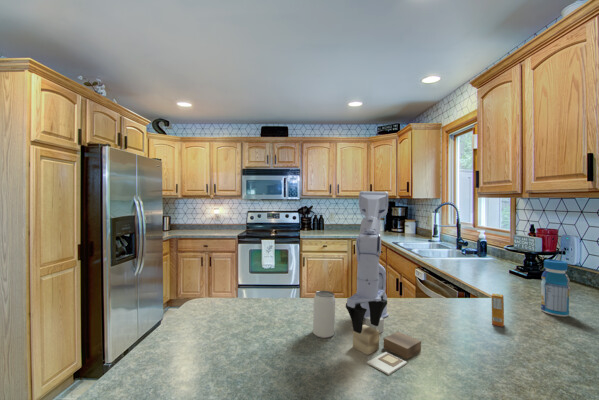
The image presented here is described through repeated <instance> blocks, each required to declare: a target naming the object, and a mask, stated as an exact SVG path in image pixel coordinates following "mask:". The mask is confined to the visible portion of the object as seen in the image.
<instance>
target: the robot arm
mask: <svg viewBox="0 0 599 400" xmlns="http://www.w3.org/2000/svg"><path fill="white" fill-rule="evenodd" d="M358 208H359V212H360V215H363V216H365V217H364V218H362V220H361V221H360V227H359V235H357V237H356V239H355V240H356V241H355V252H356V262H357V272H356V273H357V274H356V293H354V294H352V295H351V296H350V297H347V299H346V303H345V308H346V310H347V312H348V315H349V317H350V319H351V320H350V321H351V324H352V331H353V330H354V331H355V332H357V333H359V334H360V333H361V332H362V326H363V325H364V319H365V318H366V317H369V316H370V322H371V324H372V325H375V326H378V325H379V322H380V318H383V319H384V318H386V317H389V316H390V314H389V313H387V312H388V310H387V308H388V296H387V294H386V289H387V287H386V286H387V271H386V268H385V267H384V266H383V265H382V264H381V263H380V256H381V254H382V236H381V224H382V223H381V220H382V217H384V216H385V217H386V215H387V213H388V209H389V192H388V191H372V190H371V191H368V190H367V191H363V190H361V191H359V194H358Z"/></svg>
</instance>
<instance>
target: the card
mask: <svg viewBox="0 0 599 400" xmlns="http://www.w3.org/2000/svg"><path fill="white" fill-rule="evenodd" d="M366 362H367V363H366V364H368V365H370V366H371V367H373V368H375V369H376V370H379V372H382V373H384V374H386V375H387V376H390V375H392V374H393V373H394V372H396V371H397V370H399V369H401V368H402V367H403V366H406V365H407V361H406V360H403V359H401V357H397V356H395V355H393V354H391V353H389V352H387V351H385V352H383V353H381V354H379V355H377V356H375V357H373V358H372V359H370V360H368V361H366Z"/></svg>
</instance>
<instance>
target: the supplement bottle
mask: <svg viewBox="0 0 599 400" xmlns="http://www.w3.org/2000/svg"><path fill="white" fill-rule="evenodd" d="M568 266H569V265H568V262H567V261H564V260H558V259H557V260H556V259H544V260H543V267H544V269H545V270H544V271H543V272H542V274H541V281H540V287H541V296H540V297H541V302H540V303H541V304H540V310H541V311H542V312H543V313H545V314H547V315H551V316H556V317H569V316H570V290H571V285H570V283H571V280H570V278H569V277H570V276H569V275H568V274H567V273H566V272H568Z"/></svg>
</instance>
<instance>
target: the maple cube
mask: <svg viewBox="0 0 599 400" xmlns="http://www.w3.org/2000/svg"><path fill="white" fill-rule="evenodd" d="M352 348H354V349H355V350H357V351H359V352H362V353H363V354H365V355H367V356H368V355H370V354H372V353H374V352H376V351H378V350H379V349H380V333H379V331H378V330H376V329H374V328H371V327H369V326H367V325H365V324H363V326H362V332H361V333H360V334H359V333H357V332H355V331H354V330H353V329H352Z"/></svg>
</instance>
